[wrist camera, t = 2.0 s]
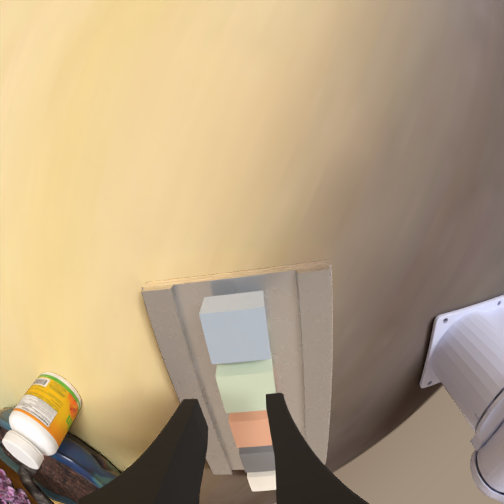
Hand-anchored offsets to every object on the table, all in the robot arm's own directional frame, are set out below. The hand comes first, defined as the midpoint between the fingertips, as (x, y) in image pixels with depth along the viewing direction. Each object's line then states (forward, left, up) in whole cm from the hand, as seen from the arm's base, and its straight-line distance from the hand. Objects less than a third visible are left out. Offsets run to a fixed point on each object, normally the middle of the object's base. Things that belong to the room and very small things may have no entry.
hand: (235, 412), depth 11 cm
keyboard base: (0, +8, -9) cm, 12 cm away
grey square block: (0, -1, -7) cm, 7 cm away
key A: (0, +17, -7) cm, 18 cm away
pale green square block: (0, +4, -7) cm, 8 cm away
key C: (0, +8, -7) cm, 10 cm away
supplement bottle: (+20, +8, -9) cm, 23 cm away
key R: (0, +12, -7) cm, 14 cm away
